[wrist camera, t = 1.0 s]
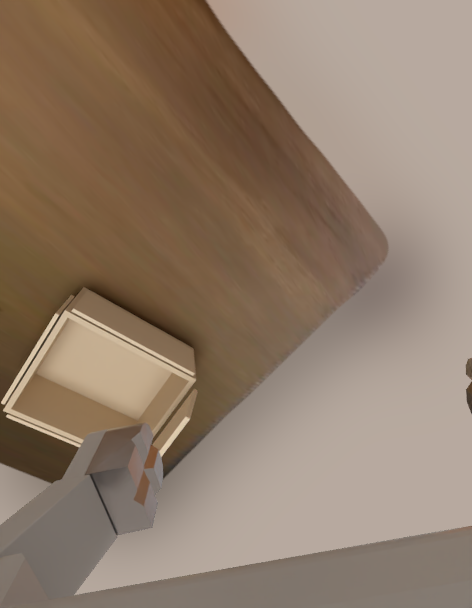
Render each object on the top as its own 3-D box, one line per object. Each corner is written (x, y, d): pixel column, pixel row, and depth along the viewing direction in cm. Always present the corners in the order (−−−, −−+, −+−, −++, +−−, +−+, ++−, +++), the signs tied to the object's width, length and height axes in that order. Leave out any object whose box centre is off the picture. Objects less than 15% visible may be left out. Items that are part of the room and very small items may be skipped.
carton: (23, 375, 48) (-6, 413, 40) (81, 280, 45) (62, 302, 37) (136, 426, 53) (130, 469, 45) (196, 345, 50) (199, 375, 42)
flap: (121, 502, 39) (125, 504, 39) (185, 416, 36) (190, 418, 36) (137, 464, 44) (140, 467, 44) (194, 388, 42) (197, 391, 42)
